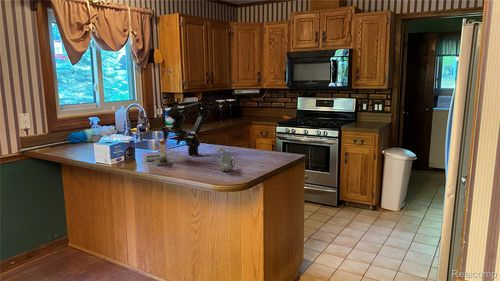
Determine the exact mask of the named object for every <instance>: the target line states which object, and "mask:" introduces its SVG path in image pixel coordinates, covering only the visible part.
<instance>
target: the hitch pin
mask: <svg viewBox="0 0 500 281" xmlns="http://www.w3.org/2000/svg"><path fill="white" fill-rule="evenodd" d="M157 142H158V145H159V147H158V148H159V155H160V162H167V159H168V156H167V155H168V154H167V143H168V138H167V139H164V138H161V139H158V140H157Z"/></svg>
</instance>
